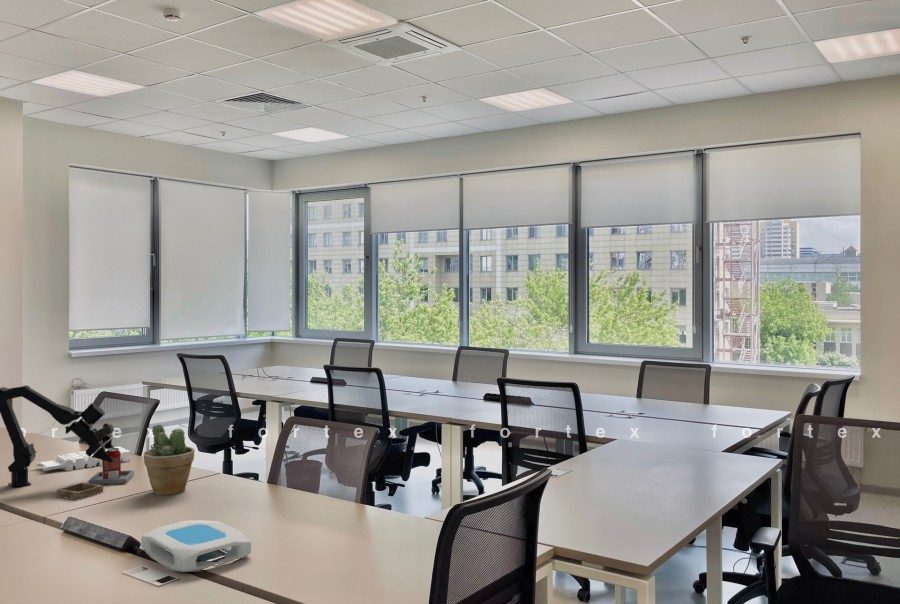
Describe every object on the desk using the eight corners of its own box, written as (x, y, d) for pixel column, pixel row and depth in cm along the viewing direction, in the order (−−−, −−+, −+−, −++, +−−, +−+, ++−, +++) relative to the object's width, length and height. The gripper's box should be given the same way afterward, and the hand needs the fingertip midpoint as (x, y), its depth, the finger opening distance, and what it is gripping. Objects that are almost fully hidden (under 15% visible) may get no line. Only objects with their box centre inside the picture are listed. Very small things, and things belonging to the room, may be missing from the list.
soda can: (120, 480, 294) (120, 450, 294) (102, 481, 291) (102, 451, 291) (120, 476, 300) (120, 446, 300) (102, 477, 298) (102, 448, 297)
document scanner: (207, 535, 231) (207, 515, 231) (252, 558, 212) (252, 536, 212) (140, 551, 217) (140, 530, 216) (182, 578, 197) (182, 555, 197)
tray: (88, 485, 288) (88, 480, 287) (97, 476, 301) (97, 471, 301) (126, 483, 290) (126, 478, 290) (134, 475, 304) (134, 470, 304)
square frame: (56, 496, 272) (56, 489, 272) (82, 489, 283) (82, 482, 283) (78, 499, 268) (78, 493, 268) (103, 492, 278) (103, 485, 278)
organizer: (130, 451, 329) (44, 463, 305) (130, 461, 329) (44, 475, 305) (119, 446, 338) (35, 458, 314) (119, 456, 338) (35, 469, 314)
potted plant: (203, 485, 288) (203, 422, 288) (181, 499, 270) (181, 431, 269) (158, 484, 290) (158, 421, 289) (133, 497, 271) (133, 430, 271)
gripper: (94, 422, 285) (124, 449, 288) (106, 414, 304) (134, 439, 306) (72, 443, 284) (103, 470, 286) (86, 433, 302) (114, 459, 305)
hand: (115, 458), depth 296 cm, fingers open, 9 cm apart
